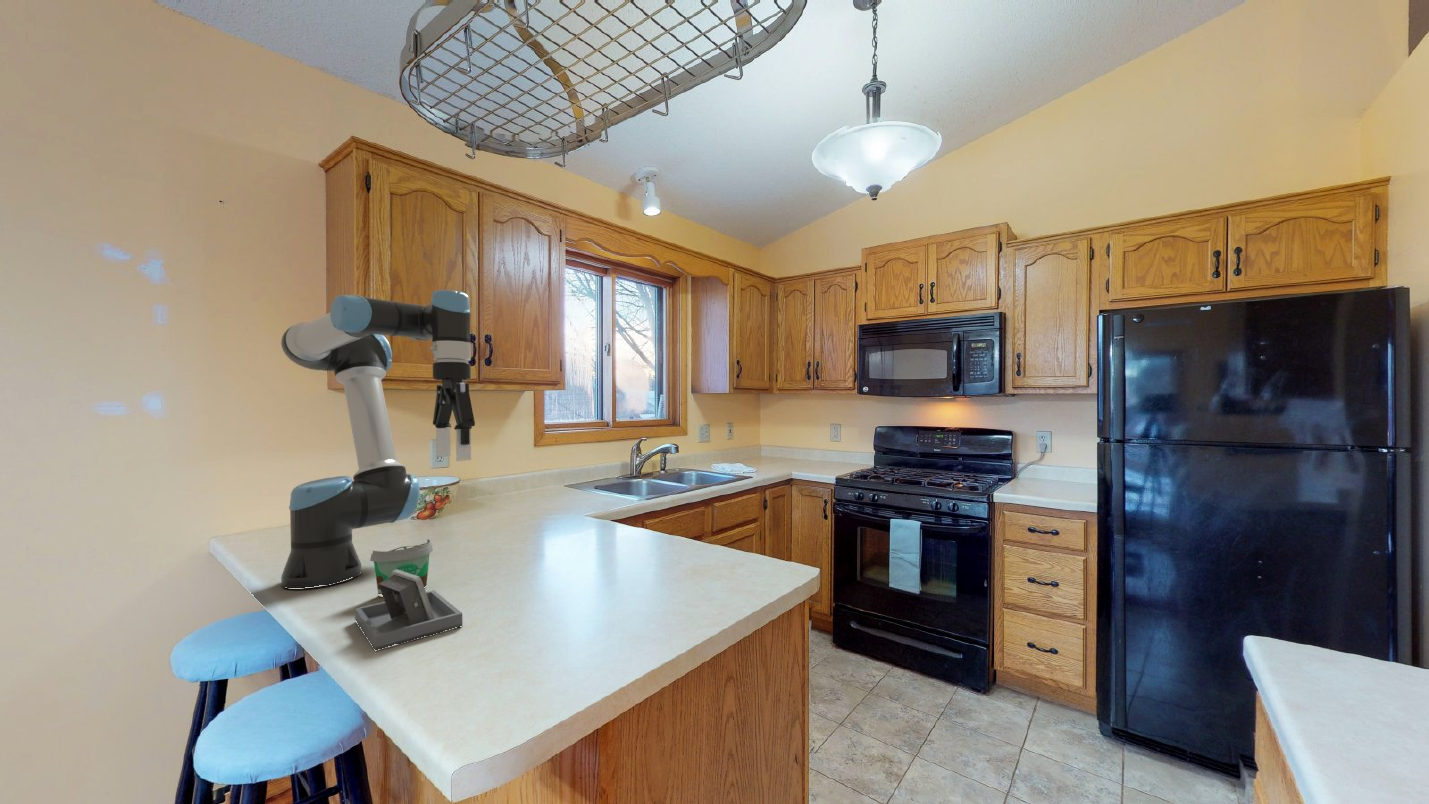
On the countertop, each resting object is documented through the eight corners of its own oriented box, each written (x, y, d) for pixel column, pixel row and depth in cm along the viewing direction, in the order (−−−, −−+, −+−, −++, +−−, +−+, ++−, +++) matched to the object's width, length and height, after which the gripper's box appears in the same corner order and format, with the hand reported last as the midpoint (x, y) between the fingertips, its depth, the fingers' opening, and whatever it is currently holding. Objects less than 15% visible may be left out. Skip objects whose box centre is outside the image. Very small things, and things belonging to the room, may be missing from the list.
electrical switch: (436, 622, 97) (430, 573, 96) (406, 636, 93) (400, 584, 92) (410, 612, 102) (404, 565, 101) (381, 624, 98) (375, 575, 97)
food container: (382, 604, 108) (382, 555, 108) (370, 598, 112) (369, 550, 112) (443, 587, 118) (443, 542, 118) (430, 582, 122) (430, 538, 122)
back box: (355, 621, 99) (355, 608, 99) (434, 602, 109) (434, 590, 109) (375, 651, 87) (374, 636, 87) (462, 626, 96) (462, 613, 96)
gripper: (417, 365, 123) (418, 456, 123) (452, 357, 105) (453, 463, 105) (451, 366, 128) (452, 453, 128) (490, 358, 110) (492, 460, 110)
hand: (453, 458), depth 117 cm, fingers open, 13 cm apart
